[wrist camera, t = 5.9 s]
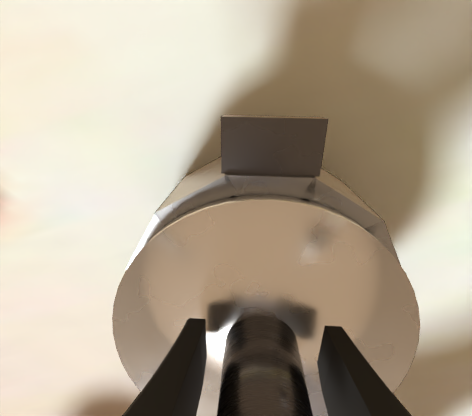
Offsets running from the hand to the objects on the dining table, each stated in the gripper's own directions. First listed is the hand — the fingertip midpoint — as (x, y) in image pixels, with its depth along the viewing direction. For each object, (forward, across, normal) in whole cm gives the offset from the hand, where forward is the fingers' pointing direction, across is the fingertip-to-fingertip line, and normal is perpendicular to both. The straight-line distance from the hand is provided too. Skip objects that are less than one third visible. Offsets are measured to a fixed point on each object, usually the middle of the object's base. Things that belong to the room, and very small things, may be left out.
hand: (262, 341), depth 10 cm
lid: (+2, 0, +1) cm, 2 cm away
